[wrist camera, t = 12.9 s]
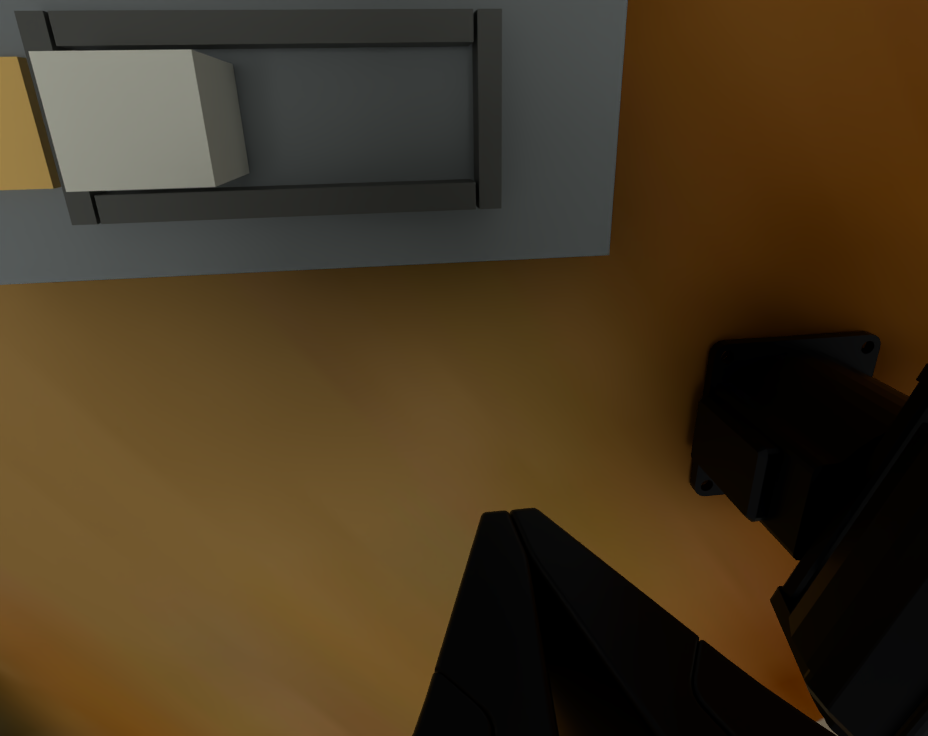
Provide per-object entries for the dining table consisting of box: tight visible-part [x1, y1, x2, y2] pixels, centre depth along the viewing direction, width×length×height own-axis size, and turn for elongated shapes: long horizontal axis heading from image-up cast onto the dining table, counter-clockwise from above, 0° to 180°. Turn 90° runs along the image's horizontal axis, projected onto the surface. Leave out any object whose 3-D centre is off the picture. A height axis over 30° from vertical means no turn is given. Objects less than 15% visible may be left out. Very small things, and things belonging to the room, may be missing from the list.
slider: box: [28, 49, 249, 192], centre depth 14 cm, size 3×3×4 cm
